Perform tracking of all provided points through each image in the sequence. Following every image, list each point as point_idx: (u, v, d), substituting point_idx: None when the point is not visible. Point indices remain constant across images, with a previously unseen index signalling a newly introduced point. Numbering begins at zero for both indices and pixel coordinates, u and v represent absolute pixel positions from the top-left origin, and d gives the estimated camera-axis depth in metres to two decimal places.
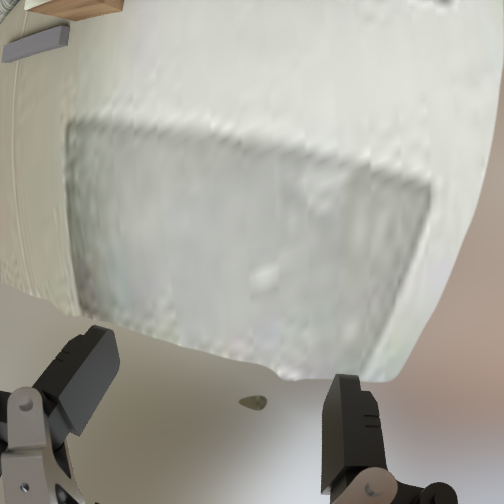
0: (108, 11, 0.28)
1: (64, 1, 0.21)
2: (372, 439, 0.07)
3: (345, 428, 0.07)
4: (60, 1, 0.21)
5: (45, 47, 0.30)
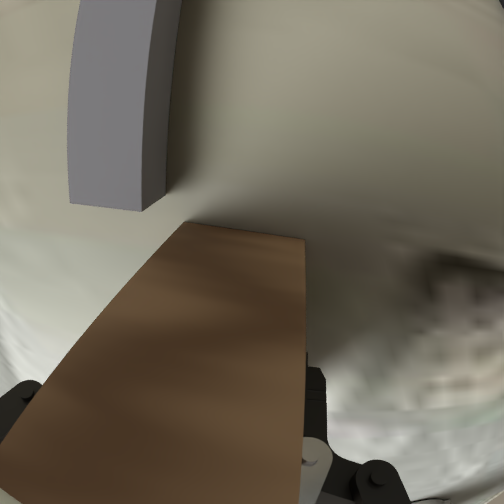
0: None
1: None
2: (315, 412, 0.08)
3: None
4: None
5: (71, 122, 0.09)
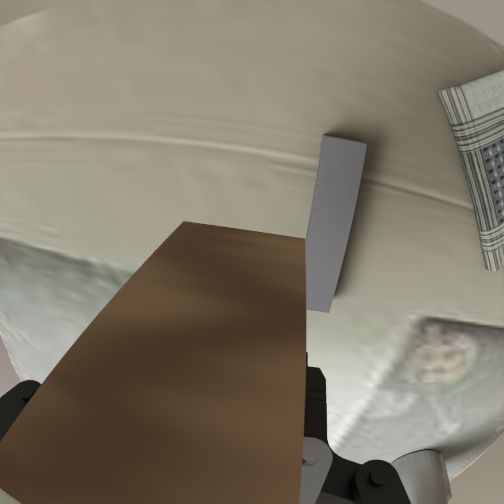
0: None
1: None
2: (315, 412, 0.08)
3: None
4: None
5: None
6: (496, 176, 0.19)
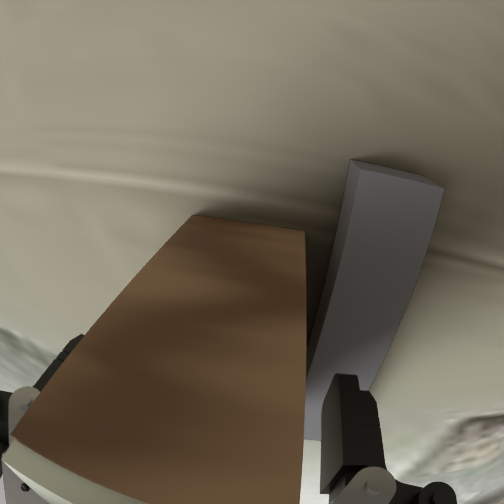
0: None
1: None
2: (371, 438, 0.07)
3: (344, 427, 0.07)
4: None
5: None
6: None
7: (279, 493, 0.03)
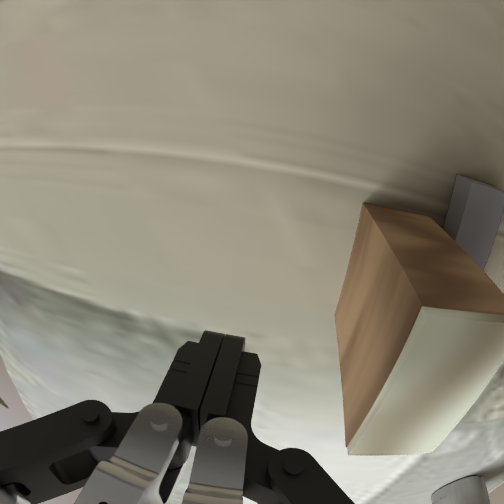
0: (341, 303, 0.20)
1: (363, 385, 0.12)
2: (243, 396, 0.09)
3: (212, 379, 0.09)
4: (368, 379, 0.12)
5: None
6: None
7: None
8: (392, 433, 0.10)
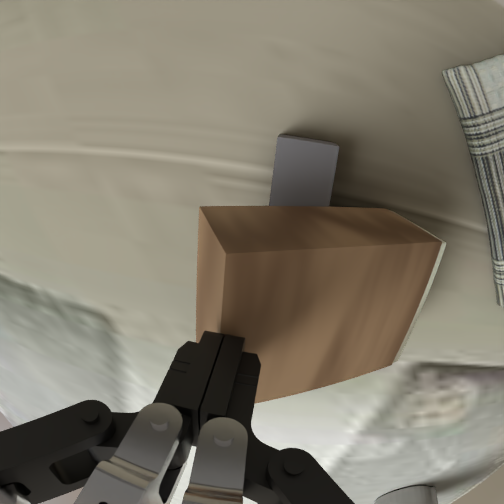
0: None
1: (389, 335, 0.15)
2: (243, 396, 0.09)
3: (213, 379, 0.09)
4: (395, 326, 0.15)
5: None
6: None
7: (381, 210, 0.17)
8: None
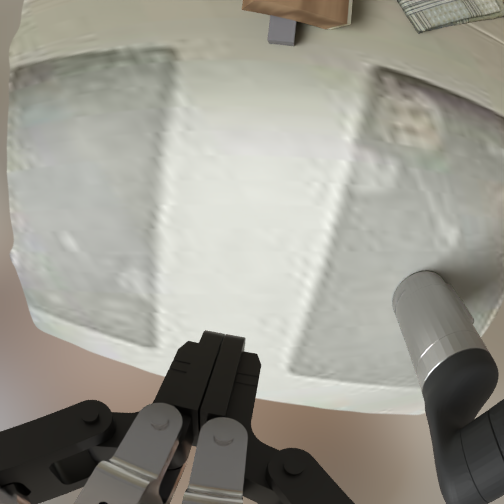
0: None
1: None
2: (243, 396, 0.09)
3: (212, 379, 0.09)
4: None
5: (271, 19, 0.29)
6: None
7: None
8: None
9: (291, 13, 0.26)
